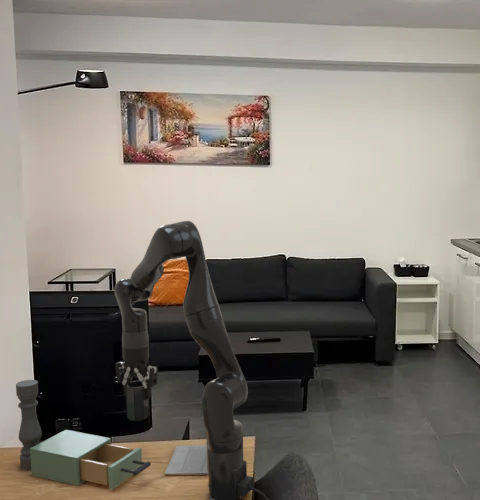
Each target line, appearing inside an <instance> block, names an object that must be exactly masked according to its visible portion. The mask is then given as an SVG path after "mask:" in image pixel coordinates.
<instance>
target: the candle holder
mask: <svg viewBox="0 0 480 500" xmlns="http://www.w3.org/2000/svg"><path fill="white" fill-rule="evenodd" d="M15 393H16V397H17V399H18V400H19V403H18V404H17V407H18V408H19V410H20V413H21V420H20V427H19V432H18V440H19V442H20V443H21V445H22V447H21V449H20V455H19V465H20V469H21V470H22V471H23V470H24V471H32V470H31V455H30V448H32V447H34V446H36V445H38V444H39V443H40V440H41V438H42V435H43V431H42V428H41V425H40V422H39V420H38V416H37V406H38V405H39V401H38V400H37V397H38V394H39V382H38V380H36V379H25V380H20V381H18V382H16V383H15Z"/></svg>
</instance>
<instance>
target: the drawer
mask: <svg viewBox="0 0 480 500" xmlns="http://www.w3.org/2000/svg"><path fill="white" fill-rule="evenodd" d="M142 452H143V451H142V447H137V448H135V449H134V448H132V447H128V446H127V447H126V446H122V445H117V444H112V443H111V444H107V443H106V444H105V445H103V446H101V447H100V448H98V449H96V450H95V451H93V452H91V453H90V454H88V455H86V456H85V457H83V458H81V459H79V467H80V479H81V480H86V481H85V482H90V483H96V484H100V485H104V486H109V487H108V488H109V489H110V490H114V489H115V488H117V487H119V486H120V485H121V484H123V483H124V482H126V481H127V480H129V479H130V478H131V477H133V476H135V477H137V476H138V475H140V473H142V472H143V471H145V470H146V469H148V468H149V467H150V466H151V465H152V463H151V462H150V461H149V460H147V461H146V462H145V461H143V453H142Z"/></svg>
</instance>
